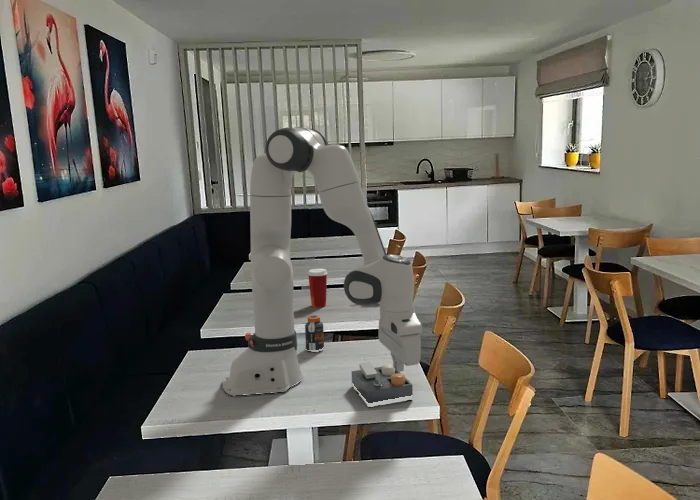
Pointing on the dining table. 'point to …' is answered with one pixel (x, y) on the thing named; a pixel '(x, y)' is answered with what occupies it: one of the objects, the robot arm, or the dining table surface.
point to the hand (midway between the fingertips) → (398, 369)
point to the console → (380, 386)
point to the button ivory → (388, 370)
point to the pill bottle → (314, 333)
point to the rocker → (368, 370)
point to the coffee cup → (318, 287)
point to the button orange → (397, 379)
